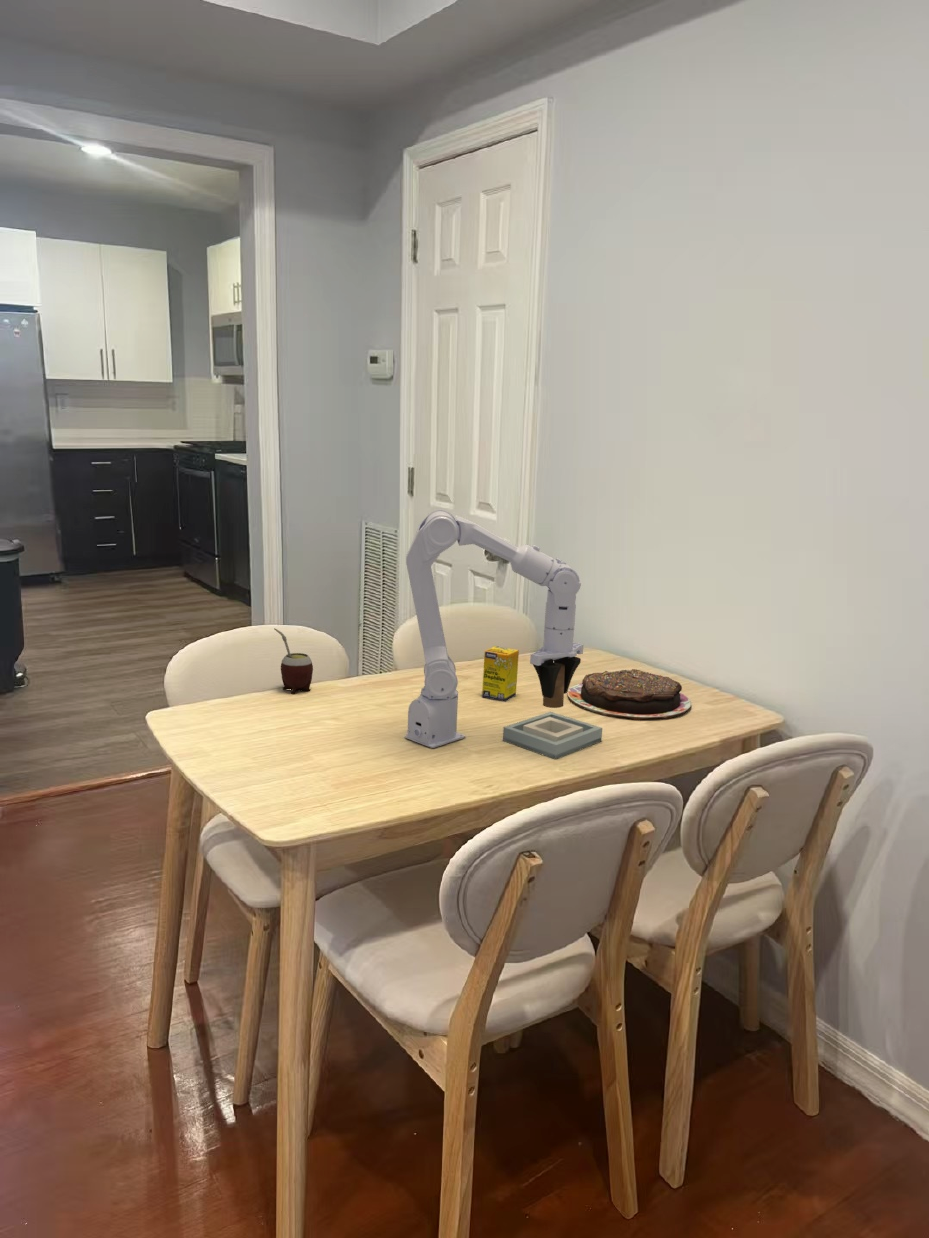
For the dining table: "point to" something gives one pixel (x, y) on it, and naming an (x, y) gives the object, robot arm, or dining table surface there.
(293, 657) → the mate gourd
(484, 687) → the supplement box
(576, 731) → the socket block
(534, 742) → the tray
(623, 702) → the chocolate cake
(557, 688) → the walnut peg
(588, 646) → the dining table surface
